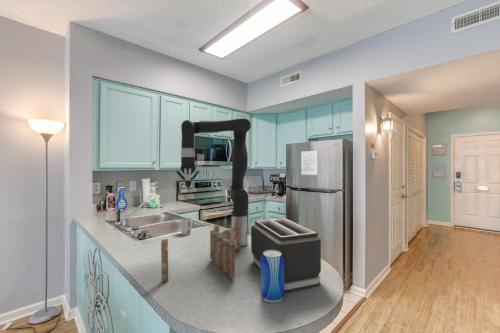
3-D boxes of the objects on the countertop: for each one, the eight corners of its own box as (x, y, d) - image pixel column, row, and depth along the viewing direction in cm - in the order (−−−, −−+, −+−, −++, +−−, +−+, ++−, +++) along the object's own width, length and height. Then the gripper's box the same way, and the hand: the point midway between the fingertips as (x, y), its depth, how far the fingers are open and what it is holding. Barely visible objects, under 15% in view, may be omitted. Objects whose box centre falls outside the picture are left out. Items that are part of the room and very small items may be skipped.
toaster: (283, 254, 126) (283, 215, 126) (324, 285, 93) (324, 234, 93) (249, 259, 120) (248, 218, 119) (280, 294, 87) (279, 239, 87)
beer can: (259, 291, 89) (259, 249, 89) (281, 290, 90) (281, 248, 89) (262, 305, 81) (262, 258, 80) (286, 303, 81) (286, 257, 81)
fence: (237, 248, 134) (236, 218, 133) (240, 249, 132) (240, 219, 132) (160, 281, 97) (159, 240, 97) (163, 283, 95) (163, 241, 95)
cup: (189, 236, 158) (188, 221, 158) (177, 235, 160) (177, 220, 160) (194, 232, 166) (194, 218, 166) (183, 231, 168) (183, 217, 167)
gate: (209, 258, 118) (209, 230, 118) (213, 257, 119) (213, 229, 119) (230, 278, 97) (230, 244, 97) (235, 277, 98) (235, 243, 98)
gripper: (174, 156, 129) (174, 188, 129) (199, 156, 130) (199, 187, 130) (177, 156, 136) (177, 186, 136) (200, 156, 137) (200, 186, 138)
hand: (188, 187), depth 133 cm, fingers closed
